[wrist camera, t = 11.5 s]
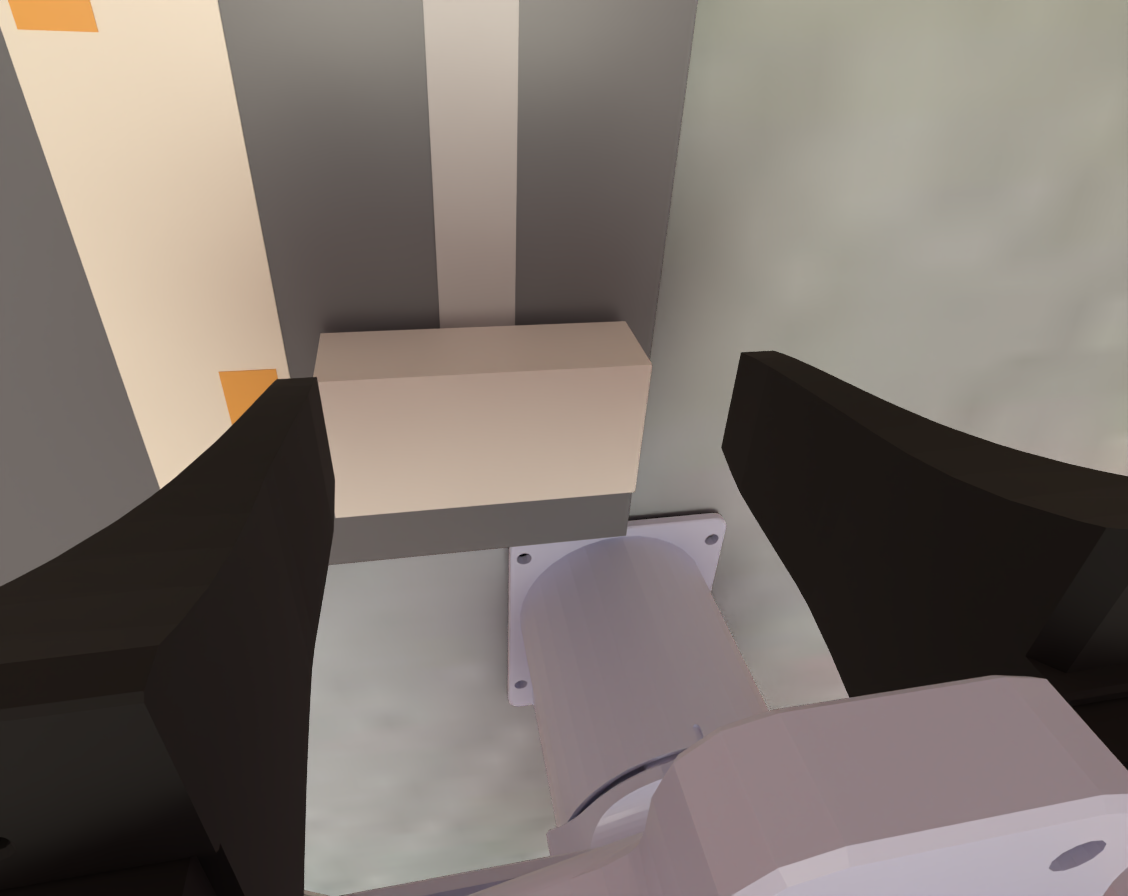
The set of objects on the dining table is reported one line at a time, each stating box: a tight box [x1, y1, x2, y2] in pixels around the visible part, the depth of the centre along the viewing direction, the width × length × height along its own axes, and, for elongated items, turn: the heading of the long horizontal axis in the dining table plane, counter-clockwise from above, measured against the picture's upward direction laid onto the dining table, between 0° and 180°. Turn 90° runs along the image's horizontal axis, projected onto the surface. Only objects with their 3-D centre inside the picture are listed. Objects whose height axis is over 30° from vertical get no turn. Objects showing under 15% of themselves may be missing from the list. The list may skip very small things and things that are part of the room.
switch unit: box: [0, 0, 698, 586], centre depth 16 cm, size 24×24×1 cm
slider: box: [313, 321, 652, 518], centre depth 19 cm, size 4×8×2 cm, turn 87°
